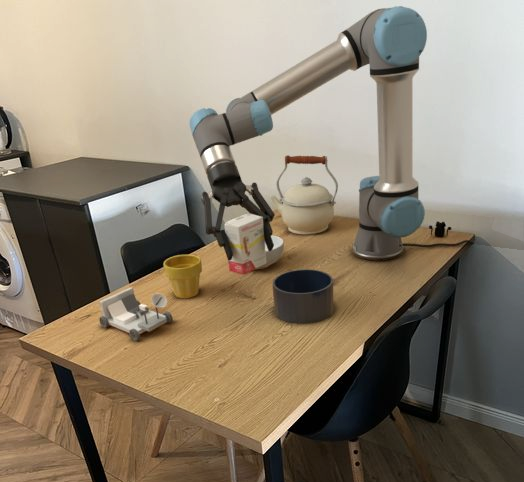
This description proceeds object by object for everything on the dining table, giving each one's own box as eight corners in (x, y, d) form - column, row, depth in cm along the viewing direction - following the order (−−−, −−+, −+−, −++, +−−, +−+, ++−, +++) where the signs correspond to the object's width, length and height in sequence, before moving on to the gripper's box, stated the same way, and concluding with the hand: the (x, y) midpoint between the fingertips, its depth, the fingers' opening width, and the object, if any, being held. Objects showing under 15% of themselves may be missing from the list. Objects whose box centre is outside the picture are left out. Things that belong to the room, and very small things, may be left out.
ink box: (243, 275, 127) (238, 226, 121) (228, 271, 130) (222, 223, 124) (267, 263, 133) (263, 215, 127) (252, 259, 136) (248, 212, 130)
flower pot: (212, 288, 157) (207, 255, 152) (193, 303, 149) (188, 270, 144) (181, 284, 161) (176, 252, 156) (161, 298, 153) (155, 266, 148)
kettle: (345, 222, 198) (345, 150, 185) (329, 239, 184) (328, 162, 171) (281, 218, 208) (277, 149, 195) (261, 234, 193) (255, 161, 181)
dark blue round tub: (316, 292, 149) (316, 264, 145) (344, 314, 137) (344, 285, 133) (265, 305, 145) (263, 277, 140) (289, 328, 132) (287, 299, 128)
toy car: (174, 290, 133) (137, 308, 126) (180, 325, 138) (145, 345, 131) (128, 275, 144) (91, 291, 136) (135, 308, 149) (100, 326, 141)
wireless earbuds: (427, 236, 179) (429, 221, 176) (429, 234, 181) (430, 219, 178) (450, 238, 176) (451, 223, 173) (451, 235, 178) (452, 220, 175)
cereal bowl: (286, 253, 175) (285, 232, 172) (283, 274, 161) (281, 251, 158) (234, 255, 177) (232, 234, 174) (226, 276, 163) (223, 253, 160)
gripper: (260, 171, 138) (290, 250, 133) (175, 187, 132) (203, 270, 127) (267, 153, 131) (298, 235, 126) (177, 168, 125) (207, 255, 120)
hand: (251, 252), depth 127 cm, fingers closed on ink box, 9 cm apart
